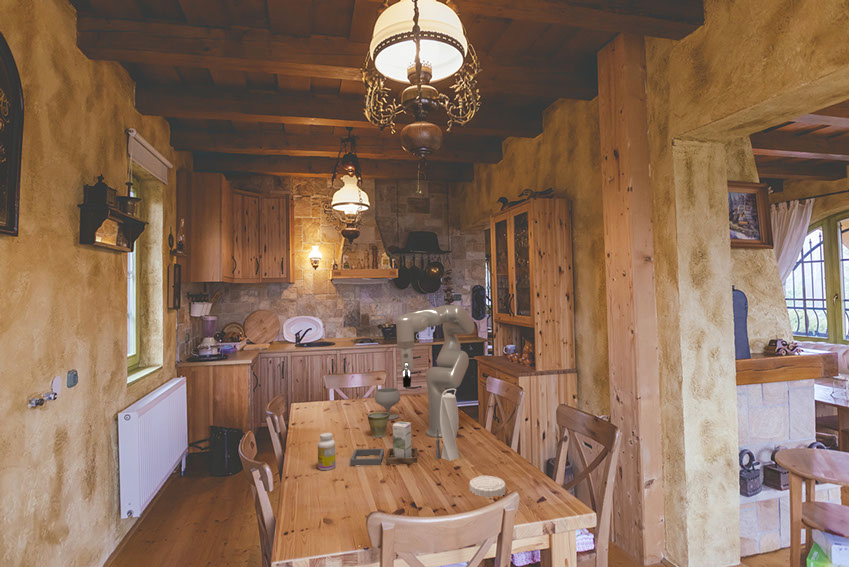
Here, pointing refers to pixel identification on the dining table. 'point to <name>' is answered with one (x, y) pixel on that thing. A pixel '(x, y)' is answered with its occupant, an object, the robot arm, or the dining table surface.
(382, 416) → the ceramic cup
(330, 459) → the supplement bottle
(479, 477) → the mooncake
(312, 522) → the dining table surface
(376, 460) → the grey frame
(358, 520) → the dining table surface
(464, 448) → the dining table surface
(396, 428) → the syrup box
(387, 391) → the chalice
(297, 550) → the dining table surface
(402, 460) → the walnut frame
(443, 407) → the skyscraper
